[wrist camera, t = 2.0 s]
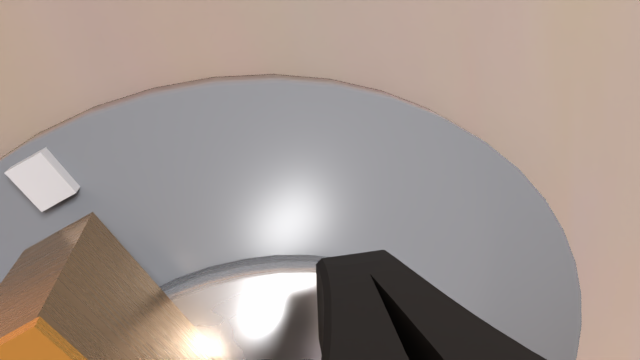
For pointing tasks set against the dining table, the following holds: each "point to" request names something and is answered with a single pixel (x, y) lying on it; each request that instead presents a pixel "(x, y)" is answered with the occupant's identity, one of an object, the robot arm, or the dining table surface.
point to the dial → (153, 305)
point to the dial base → (301, 193)
